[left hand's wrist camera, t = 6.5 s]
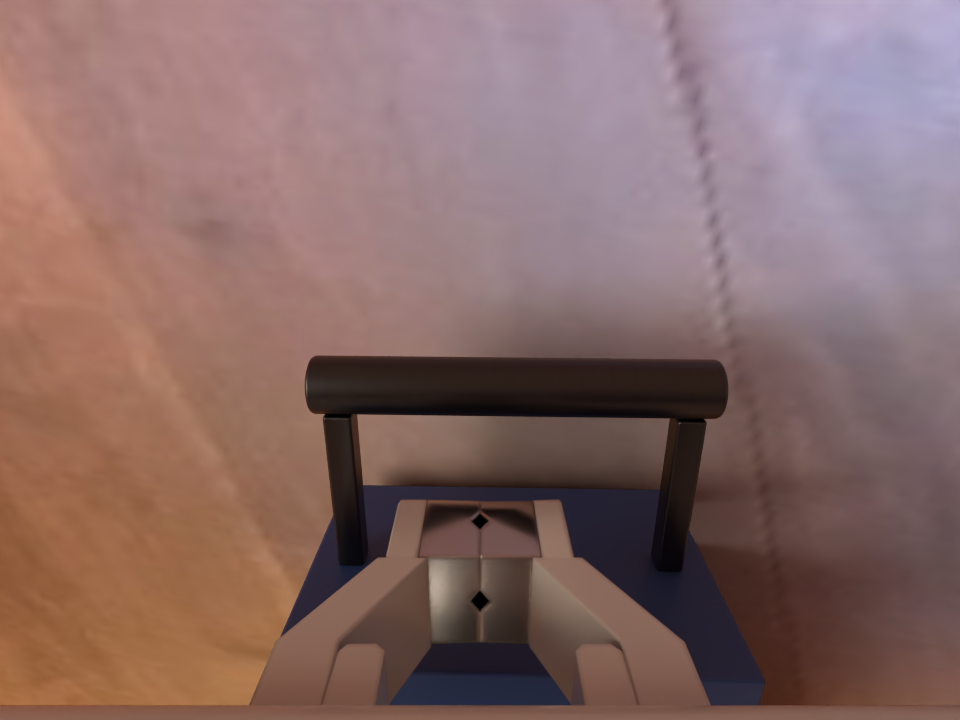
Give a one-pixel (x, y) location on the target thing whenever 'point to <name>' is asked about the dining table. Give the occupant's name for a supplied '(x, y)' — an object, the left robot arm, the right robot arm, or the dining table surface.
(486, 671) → the drawer
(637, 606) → the left robot arm
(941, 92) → the dining table surface
